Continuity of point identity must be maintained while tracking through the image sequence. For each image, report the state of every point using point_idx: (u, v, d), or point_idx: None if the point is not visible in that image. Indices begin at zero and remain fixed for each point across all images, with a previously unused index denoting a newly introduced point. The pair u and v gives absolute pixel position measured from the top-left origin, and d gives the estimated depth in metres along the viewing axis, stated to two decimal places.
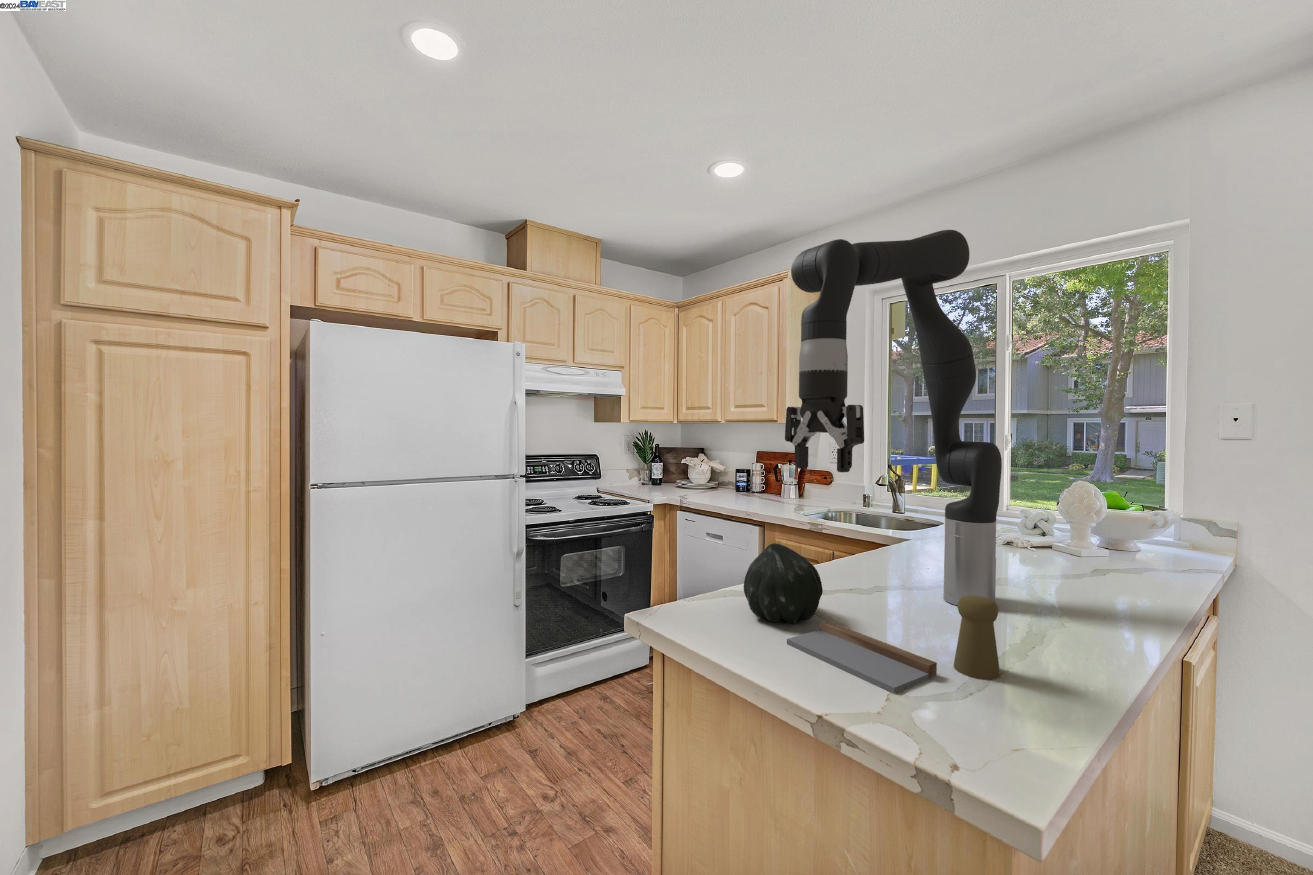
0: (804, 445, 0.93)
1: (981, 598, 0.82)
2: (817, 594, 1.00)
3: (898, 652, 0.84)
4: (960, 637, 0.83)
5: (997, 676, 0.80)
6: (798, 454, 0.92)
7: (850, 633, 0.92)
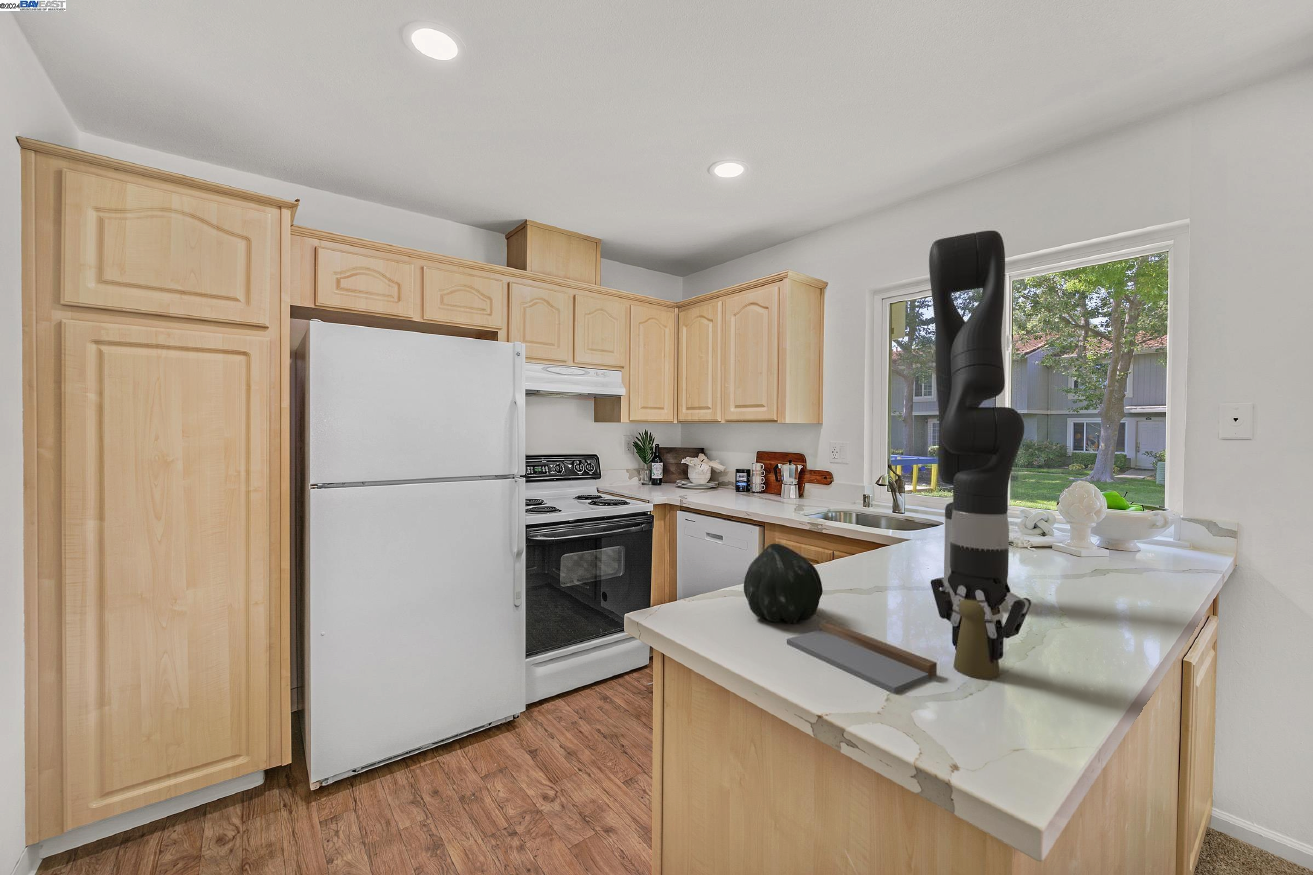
0: None
1: None
2: (817, 594, 1.00)
3: (898, 652, 0.84)
4: (960, 637, 0.83)
5: (997, 676, 0.80)
6: (958, 636, 0.84)
7: (850, 633, 0.92)
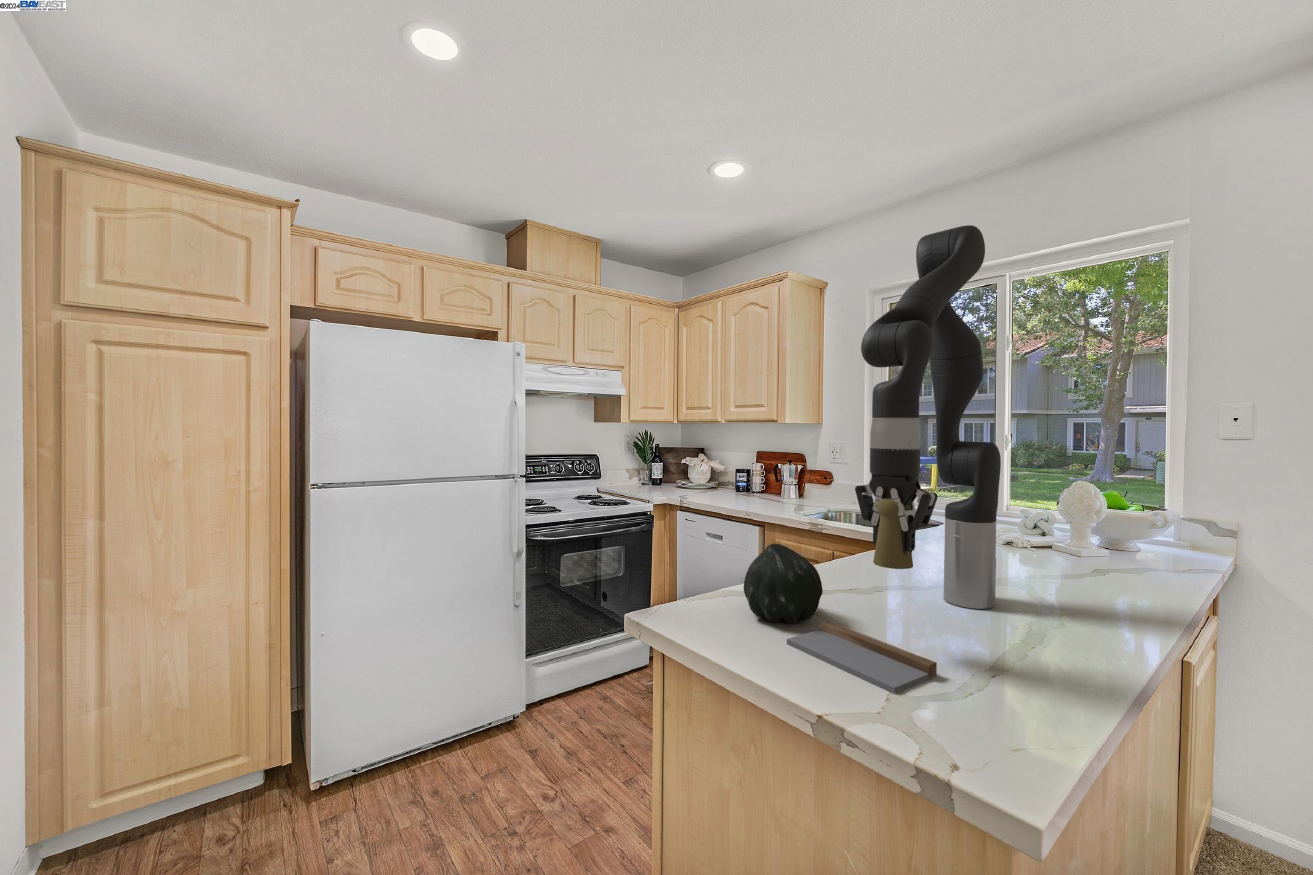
0: None
1: None
2: (817, 594, 1.00)
3: (898, 652, 0.84)
4: (878, 534, 0.91)
5: (909, 566, 0.88)
6: (877, 534, 0.92)
7: (850, 633, 0.92)
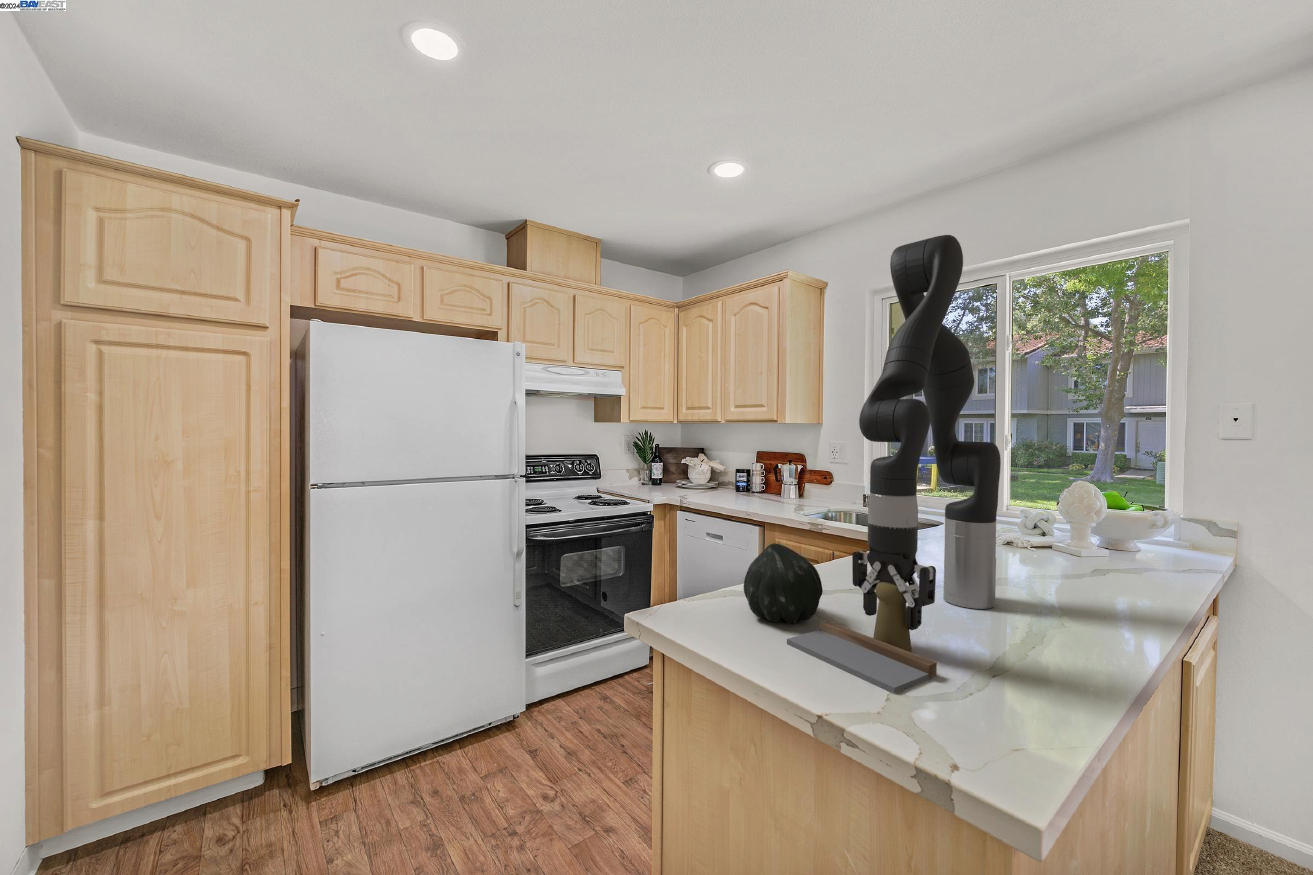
0: (873, 592, 0.94)
1: None
2: (817, 594, 1.00)
3: (898, 652, 0.84)
4: (877, 617, 0.91)
5: None
6: (867, 601, 0.93)
7: (850, 633, 0.92)
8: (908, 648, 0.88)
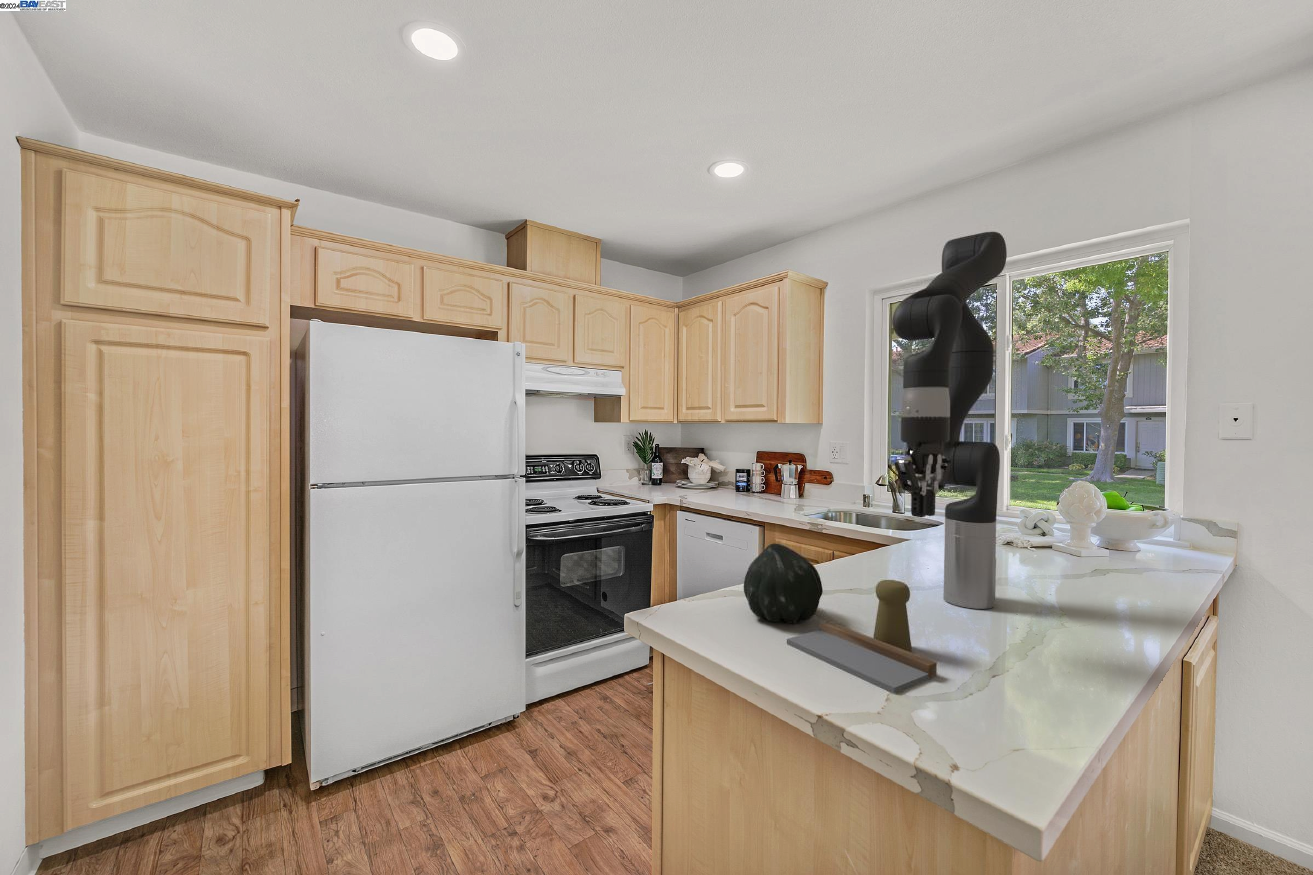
0: (929, 493, 0.95)
1: (895, 582, 0.90)
2: (817, 594, 1.00)
3: (898, 652, 0.84)
4: (877, 617, 0.91)
5: None
6: None
7: (850, 633, 0.92)
8: (908, 648, 0.88)
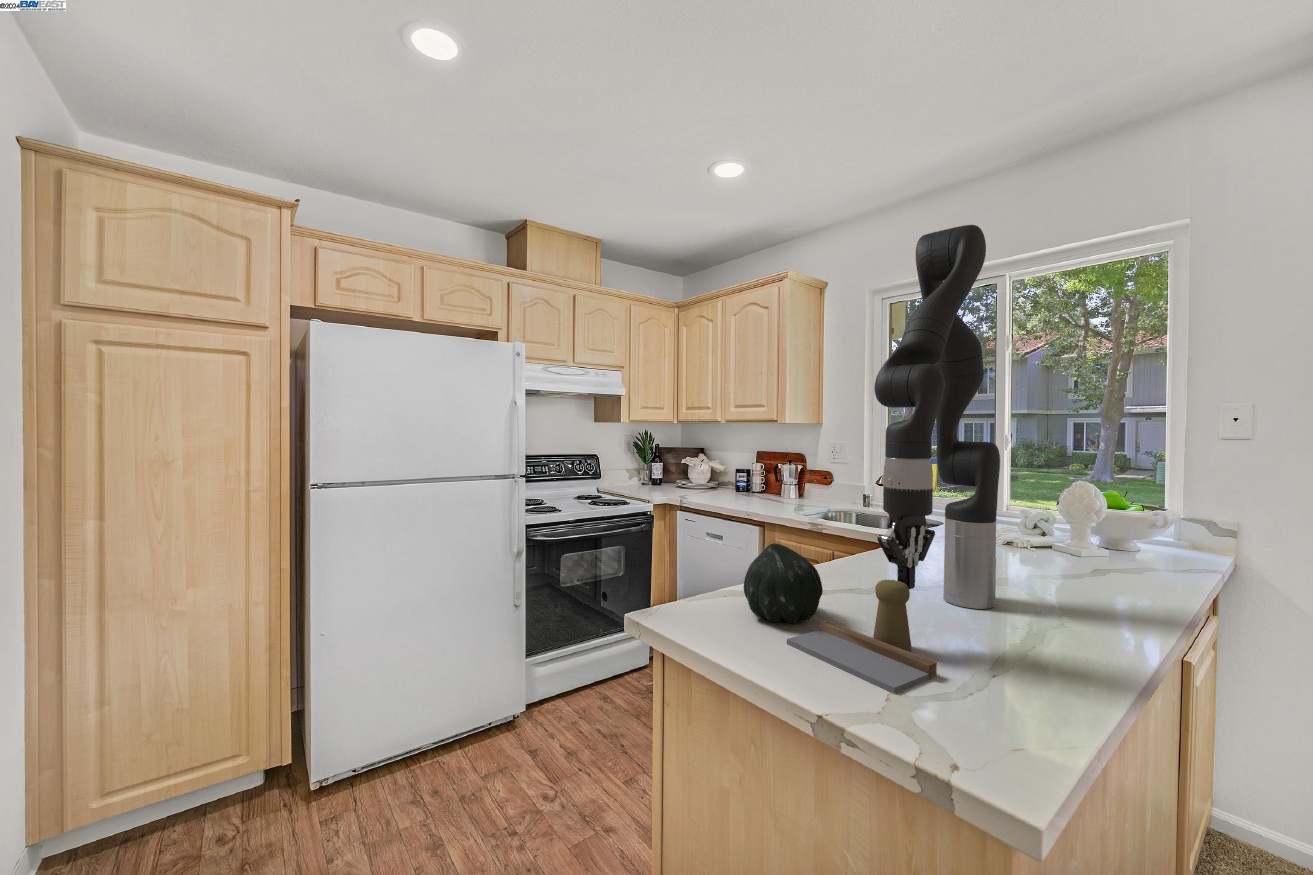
0: None
1: (895, 582, 0.90)
2: (817, 594, 1.00)
3: (898, 652, 0.84)
4: (877, 618, 0.91)
5: None
6: None
7: (850, 633, 0.92)
8: (908, 648, 0.88)
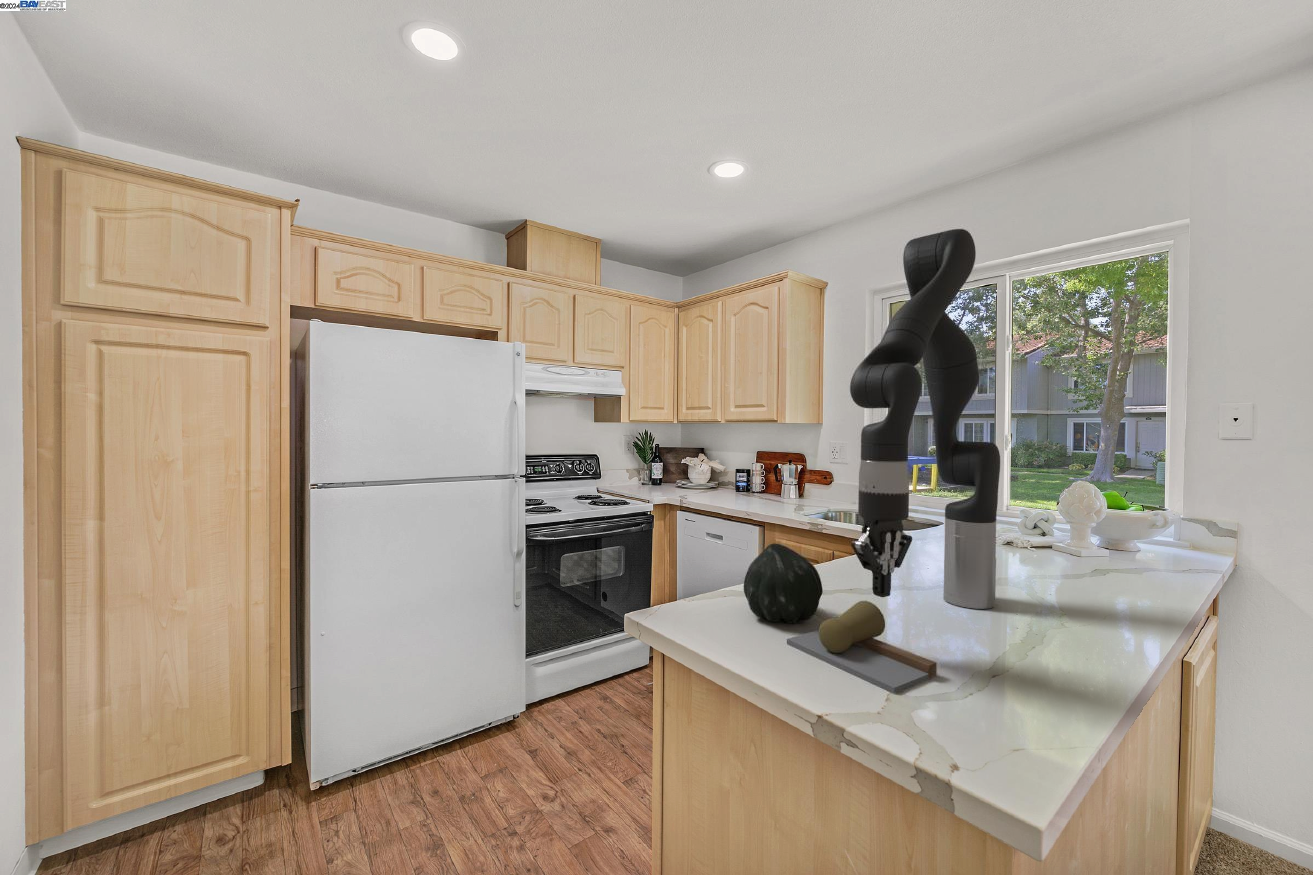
0: None
1: (829, 636, 0.86)
2: (817, 594, 1.00)
3: (898, 652, 0.84)
4: (858, 641, 0.89)
5: (872, 604, 0.91)
6: None
7: None
8: (869, 605, 0.91)
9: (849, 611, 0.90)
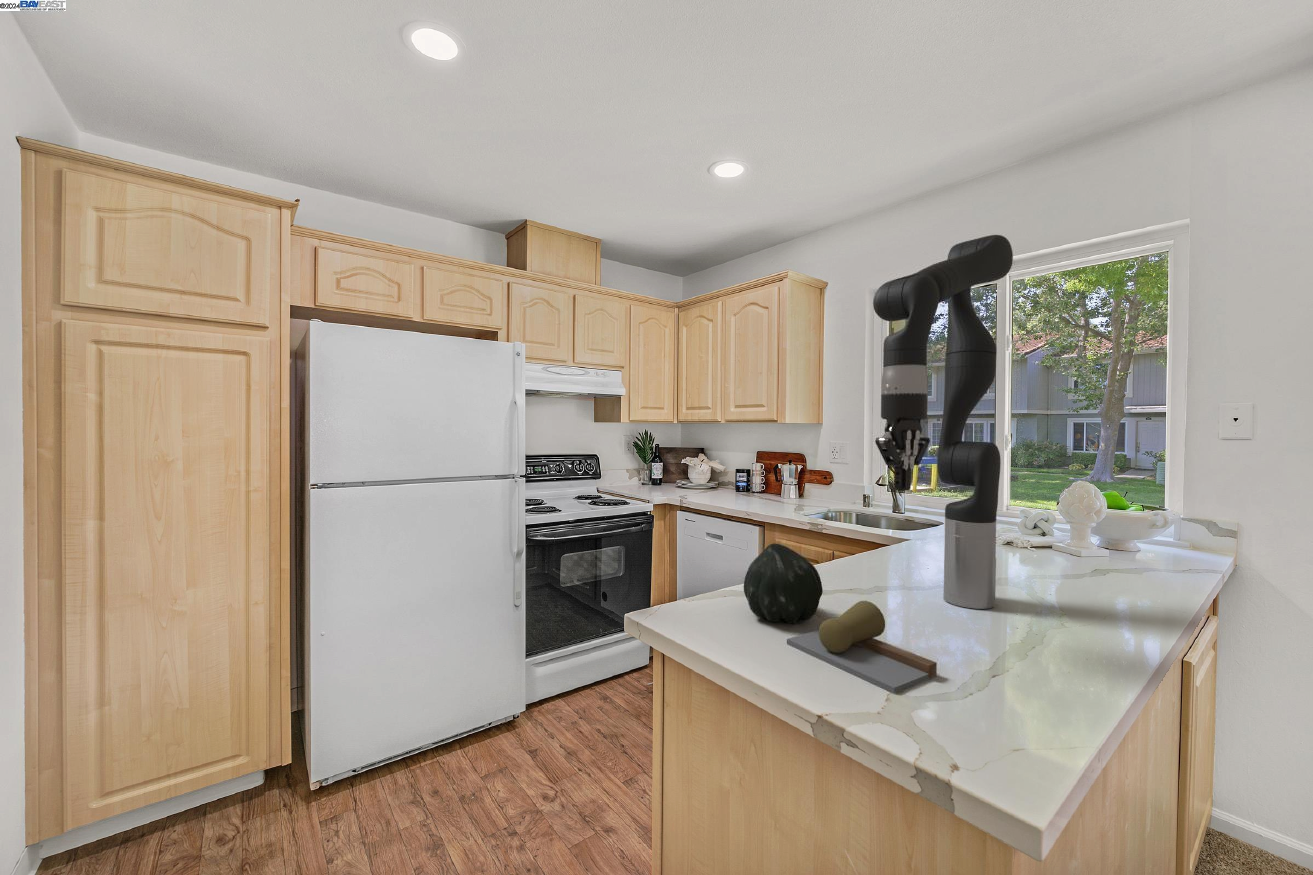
0: None
1: (830, 636, 0.86)
2: (817, 594, 1.00)
3: (898, 652, 0.84)
4: (858, 641, 0.89)
5: (872, 604, 0.91)
6: None
7: None
8: (869, 605, 0.91)
9: (849, 611, 0.90)
